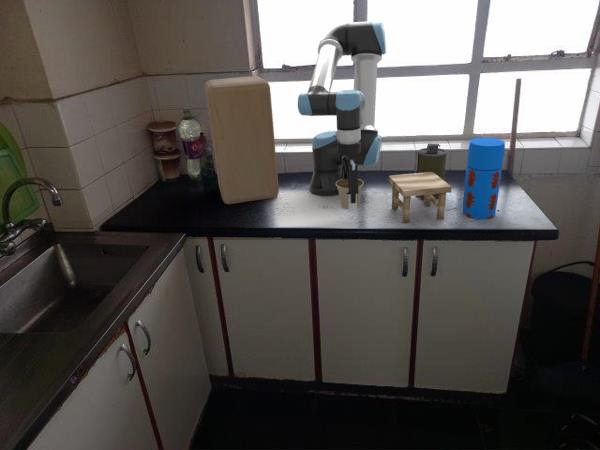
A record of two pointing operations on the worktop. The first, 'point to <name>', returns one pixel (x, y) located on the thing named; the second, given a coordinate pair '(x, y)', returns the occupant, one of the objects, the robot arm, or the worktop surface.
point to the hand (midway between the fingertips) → (349, 205)
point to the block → (243, 138)
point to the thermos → (483, 177)
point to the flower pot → (344, 189)
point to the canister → (431, 162)
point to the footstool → (418, 192)
